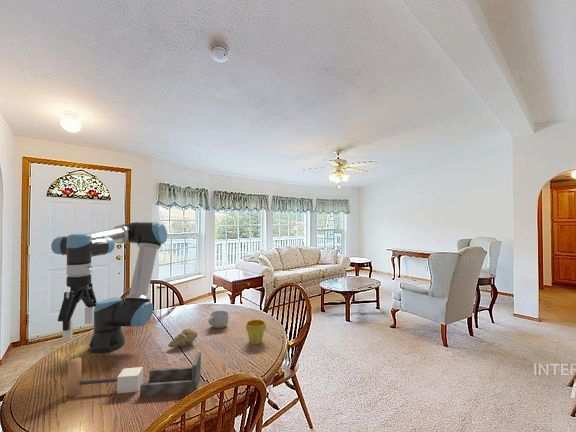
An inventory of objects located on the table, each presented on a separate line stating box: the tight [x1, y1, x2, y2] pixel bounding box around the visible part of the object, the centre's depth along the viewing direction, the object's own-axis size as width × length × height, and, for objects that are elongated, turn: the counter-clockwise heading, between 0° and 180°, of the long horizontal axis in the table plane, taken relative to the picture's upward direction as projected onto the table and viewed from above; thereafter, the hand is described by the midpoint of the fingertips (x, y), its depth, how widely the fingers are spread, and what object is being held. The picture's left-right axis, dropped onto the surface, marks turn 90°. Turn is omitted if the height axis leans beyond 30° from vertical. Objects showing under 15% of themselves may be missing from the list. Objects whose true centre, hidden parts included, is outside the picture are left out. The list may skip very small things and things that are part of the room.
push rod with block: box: [66, 357, 144, 397], centre depth 105 cm, size 24×6×12 cm, turn 101°
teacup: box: [208, 310, 230, 329], centre depth 166 cm, size 14×11×8 cm
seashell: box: [167, 328, 199, 348], centre depth 141 cm, size 14×8×8 cm, turn 141°
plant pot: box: [245, 319, 267, 345], centre depth 147 cm, size 10×10×10 cm
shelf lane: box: [139, 351, 202, 397], centre depth 108 cm, size 20×10×10 cm, turn 98°
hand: (78, 330), depth 106 cm, fingers open, 13 cm apart
